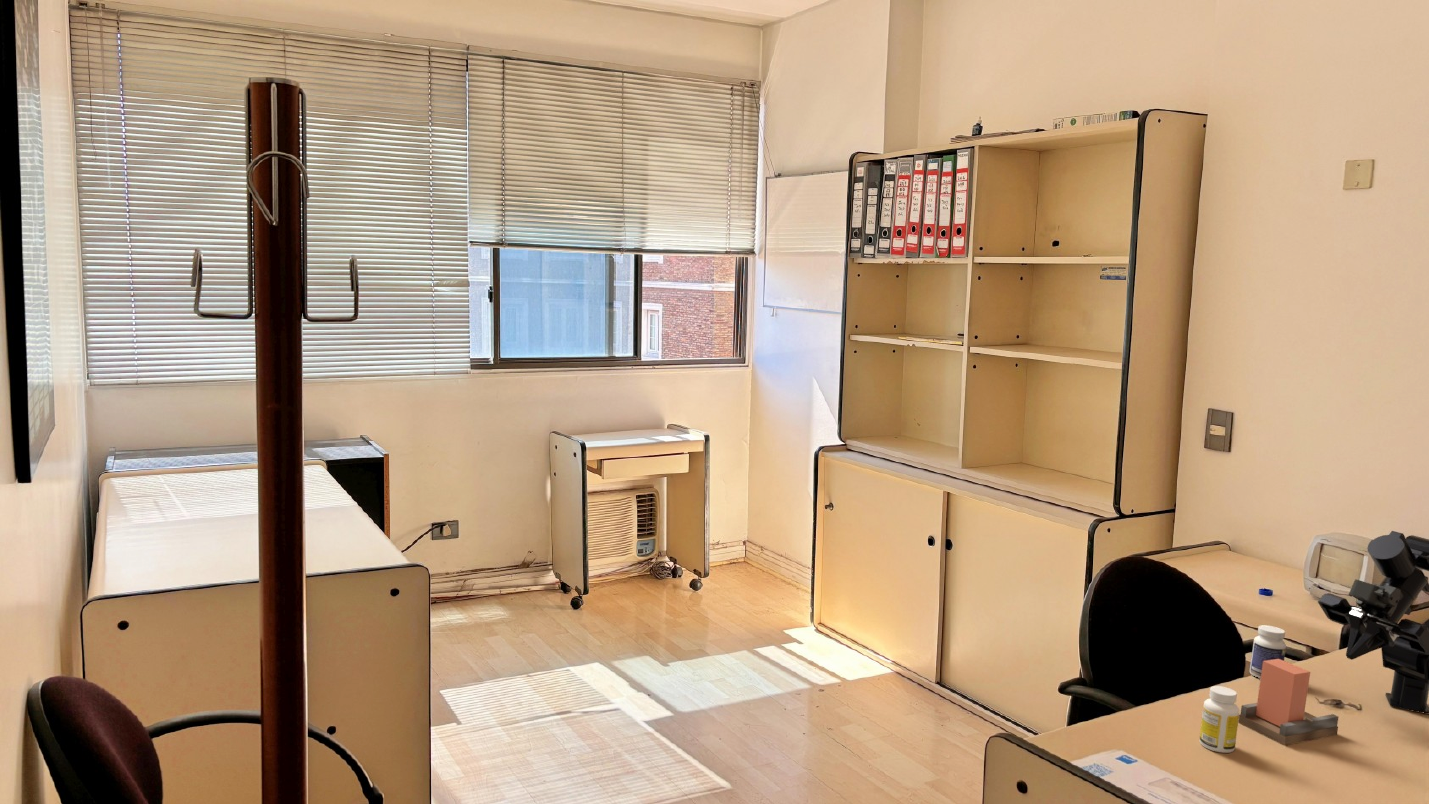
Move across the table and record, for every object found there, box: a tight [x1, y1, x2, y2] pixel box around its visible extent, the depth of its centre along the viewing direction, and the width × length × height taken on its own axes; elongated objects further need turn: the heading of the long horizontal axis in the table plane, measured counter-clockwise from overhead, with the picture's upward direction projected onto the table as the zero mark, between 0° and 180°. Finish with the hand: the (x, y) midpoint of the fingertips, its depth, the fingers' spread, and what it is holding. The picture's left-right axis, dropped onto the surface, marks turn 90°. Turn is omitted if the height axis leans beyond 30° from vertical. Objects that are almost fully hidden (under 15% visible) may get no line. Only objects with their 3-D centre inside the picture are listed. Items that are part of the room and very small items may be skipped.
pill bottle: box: [1249, 624, 1287, 680], centre depth 202 cm, size 6×6×10 cm
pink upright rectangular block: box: [1256, 659, 1311, 727], centre depth 177 cm, size 4×6×10 cm, turn 24°
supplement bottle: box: [1199, 685, 1240, 754], centre depth 169 cm, size 5×5×10 cm
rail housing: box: [1238, 702, 1339, 746], centre depth 178 cm, size 14×9×4 cm, turn 114°
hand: (1348, 657), depth 183 cm, fingers closed
